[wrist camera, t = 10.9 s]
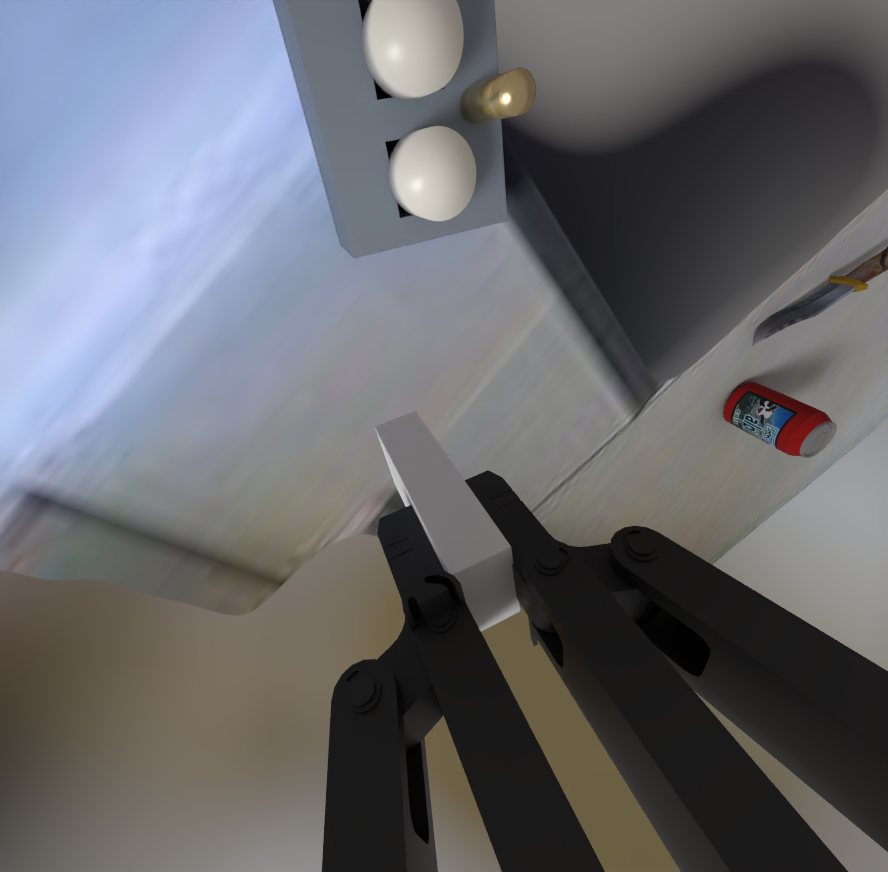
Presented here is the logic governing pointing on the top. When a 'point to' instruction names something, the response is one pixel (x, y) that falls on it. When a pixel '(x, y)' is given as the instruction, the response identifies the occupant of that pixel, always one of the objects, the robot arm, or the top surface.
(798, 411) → the beverage can
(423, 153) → the knob
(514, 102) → the pot post
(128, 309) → the top surface
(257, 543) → the top surface
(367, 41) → the knob
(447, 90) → the mount
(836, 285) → the knife
